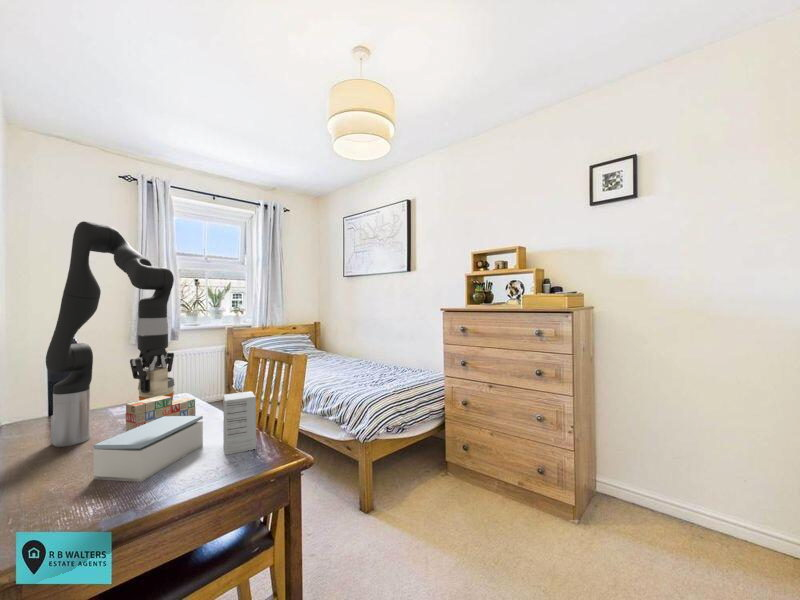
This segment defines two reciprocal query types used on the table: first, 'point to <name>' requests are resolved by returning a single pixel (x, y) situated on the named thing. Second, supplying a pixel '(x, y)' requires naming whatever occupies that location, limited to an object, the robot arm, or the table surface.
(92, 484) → the table surface
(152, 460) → the storage box
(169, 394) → the reusable coffee cup
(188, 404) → the stack of blocks
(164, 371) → the beech block
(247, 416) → the supplement box
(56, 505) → the table surface
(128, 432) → the box lid
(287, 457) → the table surface
